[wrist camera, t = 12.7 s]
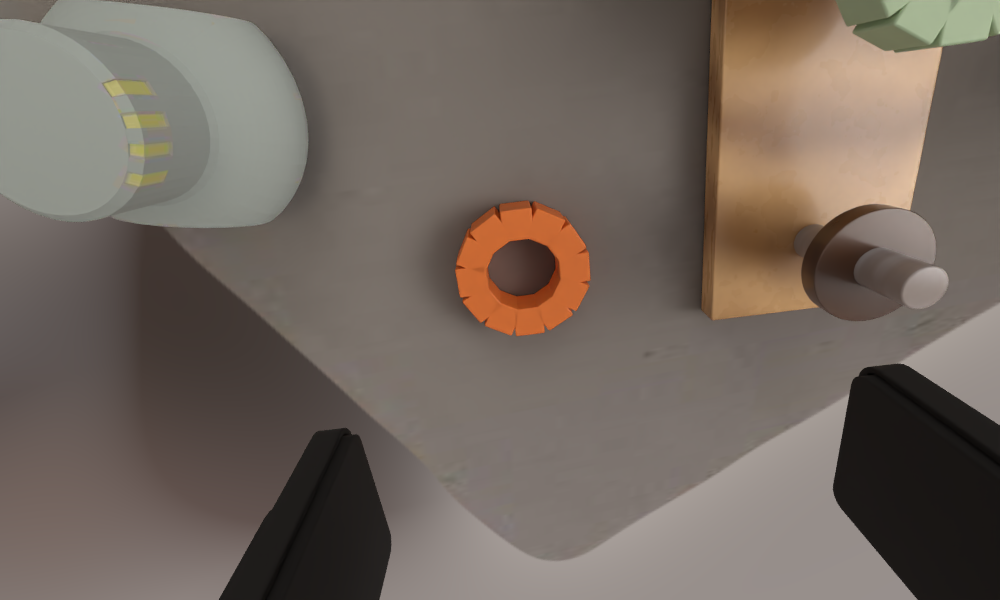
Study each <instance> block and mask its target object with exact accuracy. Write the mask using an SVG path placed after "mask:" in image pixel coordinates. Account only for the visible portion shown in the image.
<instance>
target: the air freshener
mask: <svg viewBox="0 0 1000 600" xmlns="http://www.w3.org/2000/svg"><path fill="white" fill-rule="evenodd" d="M308 143H309V141H308V126H307V118H306V114H305V109H304V105H303V100H302V98H301V95H300V93H299V90H298V87H297V85H296V82H295V79H294V78H293V76H292V74H291V72H290V70H289V68H288V67H287V65H286V63H285V61H284V59H283V58H282V56H281V55H280V54H279V52H278V51H277V50H276V48H275V47H274V46H273V44H272V43H271V42H270V40H269V39H268V38H267V37H266V36H265V35H264V34H263V33H262V31H261V30H260V29H259V28H258V27H257V26H256V25H255V24H253V23H251V22H248V21H245V20H240V19H236V18H231V17H226V16H220V15H214V14H208V13H202V12H195V11H188V10H181V9H173V8H166V7H158V6H149V5H141V4H131V3H121V2H110V1H97V0H58V1H57V2H56V3H55V4H54V5H53V7H52V8H51V9H50V10H49V12H48V13H47V14H46V15H45V16H44V18H43V19H42V21H41V23H35V22H29V21H23V20H18V19H0V194H2V195H3V196H4V197H6V198H7V199H9V200H10V201H12V202H14V203H15V204H17V205H19V206H20V207H22V208H24V209H26V210H29V211H31V212H33V213H35V214H38V215H41V216H44V217H48V218H51V219H54V220H61V221H67V222H86V221H91V220H98V219H102V218H105V217H109V216H110V217H112V218H114V219H117V220H121V221H126V222H131V223H138V224H145V225H155V226H167V227H187V228H228V227H244V226H254V225H260V224H265V223H268V222H271V221H272V220H273V219H275V218H276V217H277V216H278V215H279V214H280V213H281V212H282V211H283V210H284V209H285V207H286V206H287V205H288V203H289V202H290V201H291V199H292V198H293V197H294V195H295V193H296V190H297V188H298V186H299V184H300V182H301V180H302V177H303V173H304V170H305V166H306V163H307V154H308Z"/></svg>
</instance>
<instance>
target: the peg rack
mask: <svg viewBox="0 0 1000 600" xmlns="http://www.w3.org/2000/svg"><path fill="white" fill-rule="evenodd" d="M855 27H856V25H853V26H849V27H848V26H846V24H845V22H844V20H843V17H842V15H841V12H840V10H839V8H838V5H837V3H836V0H712V9H711V39H710V69H709V99H708V129H707V159H706V189H705V219H704V248H703V278H702V308H701V310H702V311H703V312H704V313H705V314H706V315H707V316H708V317H709V318H710V319H711V320H719V319H727V318H735V317H743V316H751V315H759V314H767V313H775V312H783V311H792V310H800V309H808V308H816V307H820V308H822V309H823V310H825V311H826V312H828V313H830V314H831V315H833V316H835V317H838V318H840V319H844V320H849V321H866V320H871V319H875V318H879V317H882V316H884V315H887V314H889V313H891V312H893V311H895V310H896V309H898V308H899V307H901V306H903V305H904V306H906V307H908V308H910V309H923V308H927V307H929V306H931V305H933V304H935V303H936V302H937V301H938V300H940V299H941V298H942V296H943V295H944V294H945V292H946V290H947V288H948V284H949V278H948V275H947V273H946V272H945V271H944V270H943V269H942V268H940V267H938V266H935V265H934V262H935V257H936V239H935V235H934V232H933V230H932V228H931V227H930V225H929V224H928V223H927V221H926V220H925V219H924V218H922V217H921V216H920V215H918V214H916V213H915V212H912V211H910V209H911V204H912V199H913V194H914V189H915V184H916V179H917V174H918V169H919V164H920V159H921V154H922V149H923V144H924V139H925V134H926V129H927V124H928V119H929V114H930V109H931V104H932V99H933V94H934V89H935V84H936V79H937V74H938V69H939V64H940V59H941V54H942V49H943V47H936V48H928V49H921V50H914V51H906V52H899V53H895V52H894V50H890V51H884V50H882V49H880V48H878V47H877V46H875V45H873V44H871V43H869V42H867V41H866V40H864V39H862V38H860V37H858V36H856V35H855V34H853V30H854V28H855Z"/></svg>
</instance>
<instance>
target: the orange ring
mask: <svg viewBox="0 0 1000 600" xmlns="http://www.w3.org/2000/svg"><path fill="white" fill-rule="evenodd" d="M499 209H500V213H499V211H498V210H497V209H496V207H493V208H491V209H490V210H489V211H488V212H486V213H485V214H484V215H482V216H481V217H480V218H478V219H477V220H476V221H475V222H473V223H472V225H471V229H468V230H467V233H466V235H465V238H464V240H463V243H462V245H461V248H460V250H459V253H458V257H457V261H456V269H455V272H456V278H457V283H458V289H459V295H460V297H463V303H464V304H465V306H466V307H467V308H468V309H469V310H470V311H471V313H472V314H473V315H474V316H475V317H476V318H477V319H478V321H479V322H480V323H481V322H483V321H484V320H485V326H487V327H489V328H492V329H495V330H497V331H500V332H503V333H506V334H508V335H512V333H513V331H514V329H515V332H516V336H522V335H530V334H538V333H544V332H545V330H544V325H545V326H546V327H547V329H548V330H551V329H553V328H554V327H556V326H557V325H559V324H560V323H561V322H563V321H564V320H566V319H567V318H569V317H570V316H572V315H573V314H572V311H571V309H572V310H575V311H577V309H578V307H579V305H580V303H581V301H582V299H583V297H584V295H585V294H586V292H587V290H588V288H589V284H588V282H587V281H590V263H589V253H588V251H587V249H586V245H585V243H584V242H583V240H582V239H581V238H580V236H579V235H578V233H577V232H576V231H575V229H574V228H573V226H572V225H571V224H570V222H569V221H568V219H567V218H566V217H565V216H562V215H561V213H560V212H559V211H557V210H554V209H552V208H549V207H547V206H545V205H542V204H540V203H537V202H535V201H534V202H533V204H532V206H530V203H529V201H520V202H513V203H505V204H500V205H499ZM524 239H531V240H533V241H536V242H538V243H541V244H543V245H545V246H547V247H548V248H549V249H550V251H551V252H552V253H553V255H554V256H555V266H556V269H555V271H554V273H553V275H552V277H551V279H550V281H549V283H548V284H547V285H546V286H545V287H543V288H542V289H540V290H539V291H538V292H536V293H535V294H530V295H523V296H514V295H511V294H509V293H506V292H504V291H501V290H499V288H498V287H497V286H496V285H495V284H494V282H493V281H492V280H491V279H490V277H489V273H488V265H489V263H490V260H491V258H492V256H493V253H495V252H496V251H497V250H499V249H500V248H501V247H503V246H504V245H505V244H507V243H508V242H509V241H516V240H524Z"/></svg>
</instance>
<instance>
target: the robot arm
mask: <svg viewBox="0 0 1000 600" xmlns="http://www.w3.org/2000/svg"><path fill="white" fill-rule="evenodd" d="M833 492H834V496H835V498H836V501H837V503H838V504H839V506H840V508H841V509H842V510H843V511H844V512H845V514H846V515H847V516H848V517H849V518H850V519H851V521H852V522H853V523H854V524H855V526H856V527H857V528H858V529H859V530H860V532H861V533H862V534H863V535H864V536H865V537H866V539H867V540H868V541H869V542H870V543H871V545H872V546H873V547H874V548H875V549H876V551H878V553H879V554H880V555H881V556H882V558H883V559H884V560H885V561H886V562H887V564H888V565H889V566H890V567H891V568H892V569H893V571H894V572H895V573H896V574H897V576H898V577H899V578H900V579H901V580H902V582H903V583H904V584H905V585H906V586H907V588H908V589H909V590H910V591H911V592H912V593H913V595H914V596H915V597H916V598H917V599H918V600H1000V425H998V424H997V423H995V422H994V421H992V420H990V419H989V418H987V417H986V416H984V415H983V414H981V413H980V412H978V411H977V410H975V409H973V408H972V407H970V406H969V405H967V404H966V403H964V402H963V401H961V400H960V399H958V398H957V397H955V396H954V395H952V394H950V393H949V392H947V391H946V390H944V389H943V388H941V387H940V386H938V385H937V384H935V383H933V382H932V381H930V380H929V379H927V378H926V377H924V376H923V375H921V374H919V373H918V372H917V371H915V370H913V369H912V368H910V367H909V366H906V365H904V364H891V365H882V366H873V367H867V368H864V369H863V370H862V371H861V372H860V374H859V376H858V377H855V378H854V379H853V381H852V384H851V389H850V395H849V400H848V406H847V412H846V417H845V422H844V428H843V434H842V439H841V445H840V450H839V456H838V461H837V467H836V473H835V478H834V484H833ZM390 552H391V534H390V531H389V527H388V524H387V521H386V518H385V515H384V511H383V508H382V505H381V502H380V499H379V495H378V492H377V489H376V486H375V483H374V480H373V476H372V473H371V470H370V467H369V464H368V460H367V457H366V454H365V451H364V448H363V445H362V441H361V439H360V437H359V436H358V435H352V434H351V432H350V431H349V430H348V429H347V428H341V429H332V430H324V431H318V432H316V433H315V434H314V435H313V437H312V439H311V440H310V442H309V444H308V446H307V448H306V449H305V451H304V453H303V455H302V457H301V459H300V460H299V462H298V464H297V466H296V468H295V469H294V471H293V473H292V475H291V477H290V478H289V480H288V482H287V484H286V486H285V487H284V489H283V491H282V493H281V495H280V496H279V498H278V500H277V502H276V504H275V505H274V507H273V509H272V510H271V511H270V512H269V513H268V514H267V516H266V517H265V518H264V520H263V522H262V524H261V525H260V527H259V529H258V531H257V532H256V534H255V536H254V538H253V540H252V541H251V543H250V545H249V547H248V549H247V551H246V552H245V554H244V556H243V557H242V559H241V561H240V563H239V565H238V566H237V568H236V570H235V572H234V573H233V575H232V577H231V579H230V581H229V582H228V584H227V586H226V588H225V590H224V591H223V593H222V595H221V597H220V598H219V600H379V598H380V595H381V590H382V586H383V582H384V578H385V573H386V569H387V565H388V561H389V557H390Z"/></svg>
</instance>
